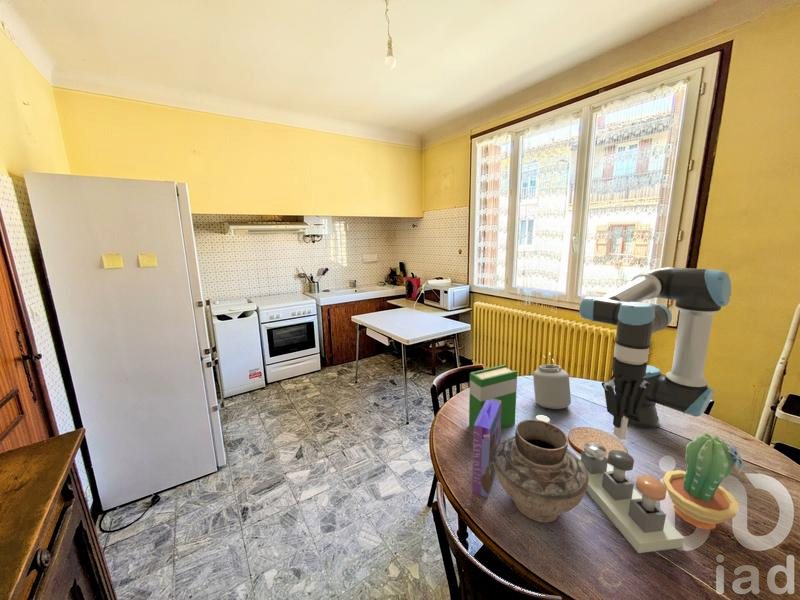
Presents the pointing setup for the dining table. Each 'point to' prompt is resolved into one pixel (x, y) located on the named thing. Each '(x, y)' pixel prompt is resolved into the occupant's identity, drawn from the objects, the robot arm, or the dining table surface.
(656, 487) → the terracotta plunger
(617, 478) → the middle plunger
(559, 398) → the jar
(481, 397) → the hardback book
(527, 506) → the ceramic pot
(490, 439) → the cereal box
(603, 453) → the plunger
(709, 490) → the potted cactus
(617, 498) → the console
